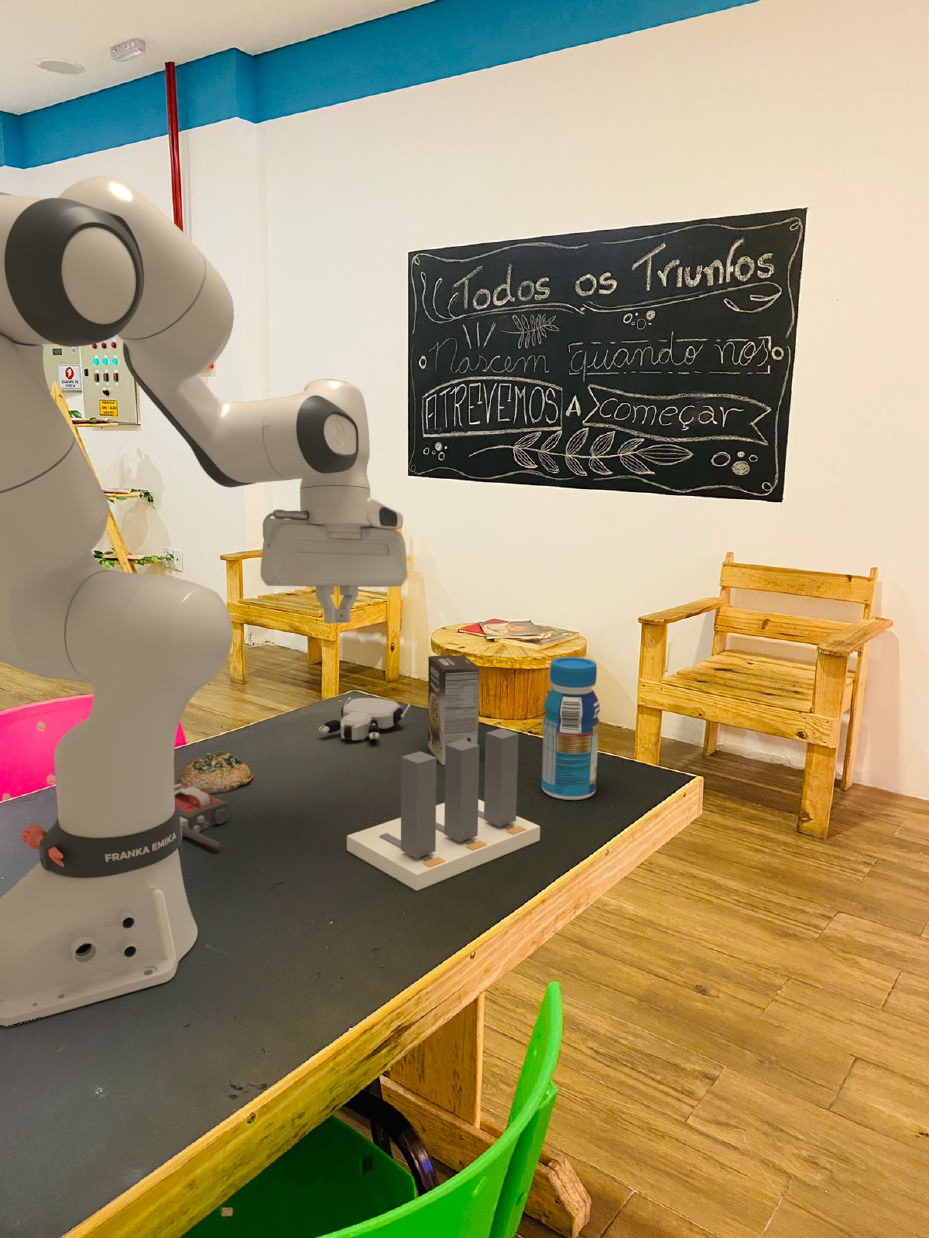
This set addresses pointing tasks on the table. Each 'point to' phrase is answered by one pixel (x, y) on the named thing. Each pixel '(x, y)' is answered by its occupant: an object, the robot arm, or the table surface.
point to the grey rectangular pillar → (461, 790)
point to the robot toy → (365, 718)
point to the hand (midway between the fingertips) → (337, 622)
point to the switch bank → (439, 848)
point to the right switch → (501, 777)
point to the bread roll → (215, 773)
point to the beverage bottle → (571, 730)
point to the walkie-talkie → (199, 812)
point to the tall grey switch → (418, 804)
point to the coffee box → (452, 702)
